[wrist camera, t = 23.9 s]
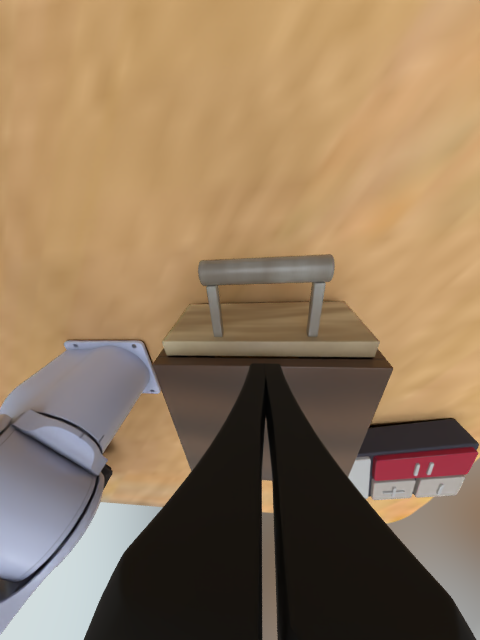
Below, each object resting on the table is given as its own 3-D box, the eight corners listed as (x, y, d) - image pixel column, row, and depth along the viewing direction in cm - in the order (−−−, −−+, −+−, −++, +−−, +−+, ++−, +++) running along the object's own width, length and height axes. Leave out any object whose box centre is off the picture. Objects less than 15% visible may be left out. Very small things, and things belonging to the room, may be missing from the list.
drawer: (177, 247, 16) (137, 266, 11) (357, 237, 14) (410, 254, 9) (209, 402, 25) (196, 453, 20) (322, 407, 23) (339, 462, 18)
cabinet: (188, 311, 20) (151, 364, 13) (345, 308, 18) (394, 368, 11) (209, 408, 27) (192, 474, 20) (322, 413, 25) (344, 486, 18)
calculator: (462, 499, 25) (337, 506, 27) (434, 461, 29) (326, 470, 31) (489, 450, 20) (333, 464, 22) (451, 412, 24) (321, 428, 26)
